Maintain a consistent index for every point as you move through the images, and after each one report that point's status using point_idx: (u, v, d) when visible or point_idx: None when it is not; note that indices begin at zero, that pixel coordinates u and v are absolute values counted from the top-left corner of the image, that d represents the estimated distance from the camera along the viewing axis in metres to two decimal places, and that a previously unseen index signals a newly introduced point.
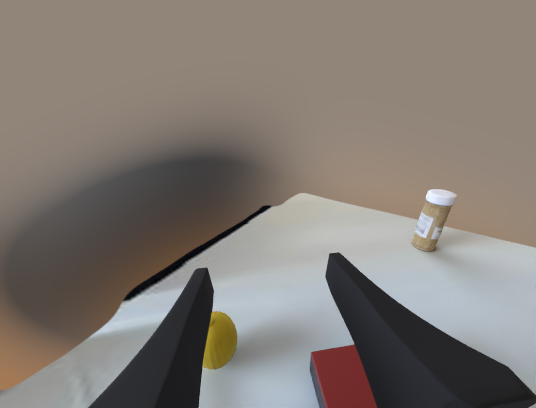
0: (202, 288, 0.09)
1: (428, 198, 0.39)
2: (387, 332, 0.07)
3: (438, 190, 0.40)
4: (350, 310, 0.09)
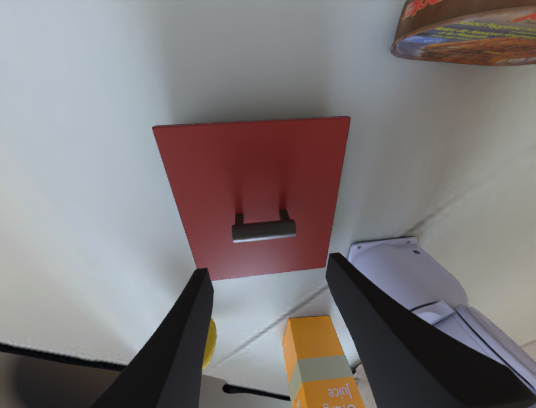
0: (202, 288, 0.09)
1: None
2: (387, 332, 0.07)
3: None
4: (350, 310, 0.09)
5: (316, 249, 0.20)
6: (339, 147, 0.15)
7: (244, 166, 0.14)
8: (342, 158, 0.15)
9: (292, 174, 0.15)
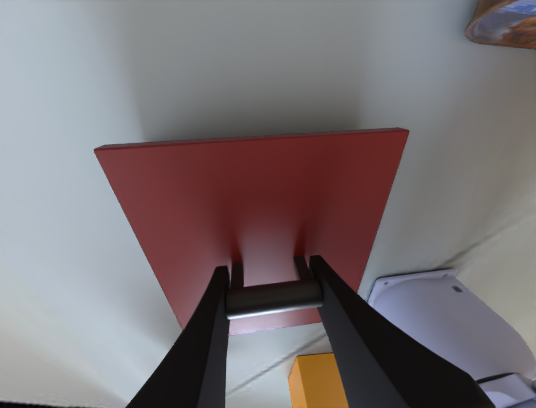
0: (224, 285, 0.09)
1: None
2: (356, 337, 0.07)
3: None
4: (327, 313, 0.09)
5: None
6: (387, 174, 0.10)
7: (244, 203, 0.10)
8: (389, 189, 0.10)
9: (314, 212, 0.10)
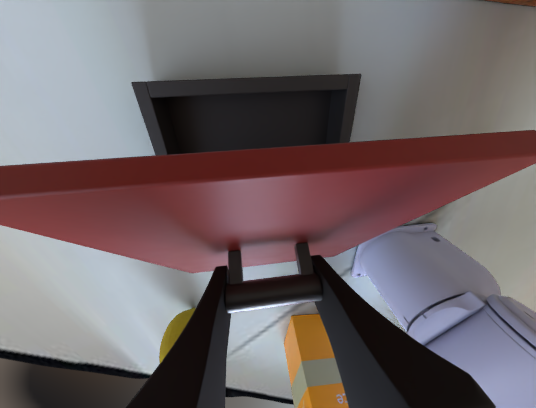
0: (224, 285, 0.09)
1: None
2: (356, 337, 0.07)
3: None
4: (327, 313, 0.09)
5: (330, 252, 0.16)
6: (457, 194, 0.06)
7: (243, 225, 0.07)
8: (444, 204, 0.07)
9: (335, 223, 0.08)
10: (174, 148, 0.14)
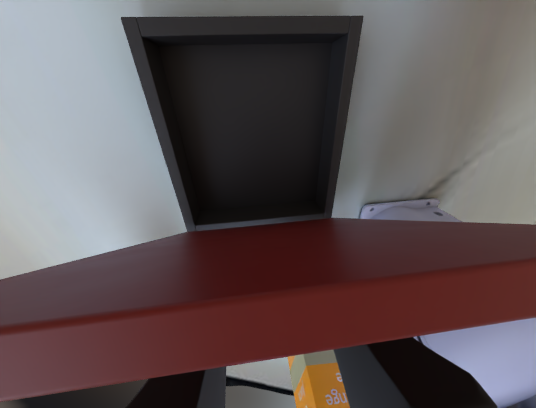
0: None
1: None
2: None
3: None
4: None
5: None
6: None
7: None
8: None
9: None
10: (167, 102, 0.13)
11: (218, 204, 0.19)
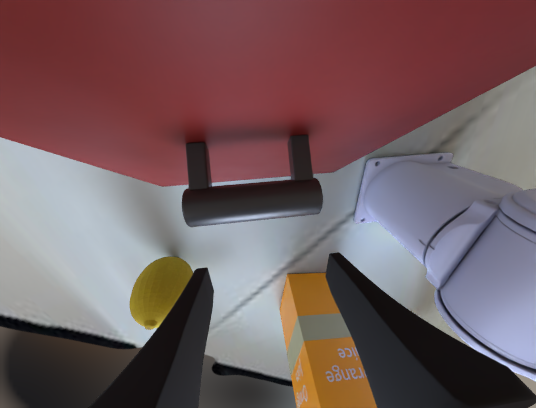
0: (202, 288, 0.09)
1: None
2: (387, 332, 0.07)
3: None
4: (350, 310, 0.09)
5: (332, 164, 0.13)
6: None
7: (166, 27, 0.03)
8: None
9: (372, 67, 0.04)
10: None
11: None
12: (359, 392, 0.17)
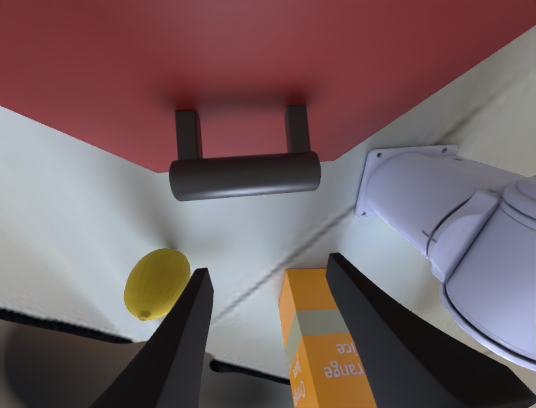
0: (202, 288, 0.09)
1: None
2: (387, 332, 0.07)
3: None
4: (350, 310, 0.09)
5: (332, 149, 0.12)
6: None
7: None
8: None
9: (376, 1, 0.03)
10: None
11: None
12: (358, 388, 0.16)
